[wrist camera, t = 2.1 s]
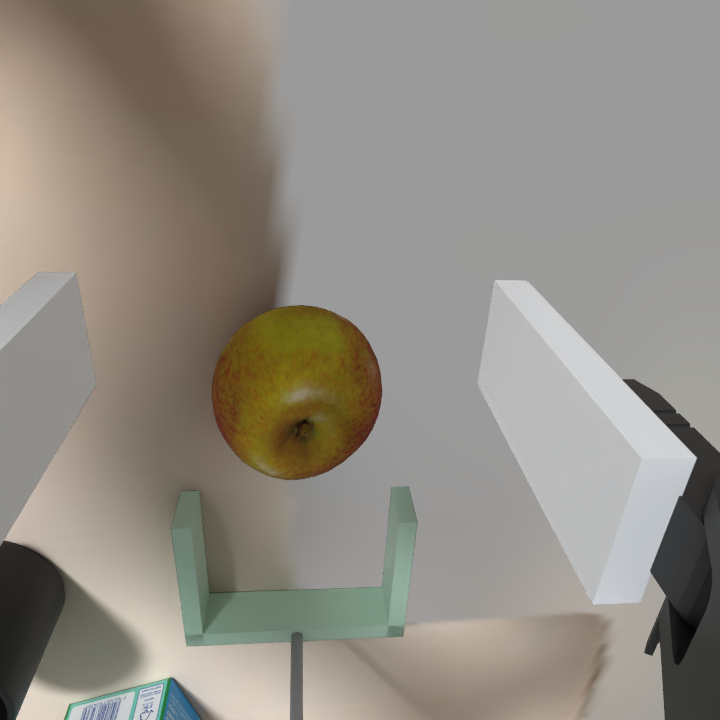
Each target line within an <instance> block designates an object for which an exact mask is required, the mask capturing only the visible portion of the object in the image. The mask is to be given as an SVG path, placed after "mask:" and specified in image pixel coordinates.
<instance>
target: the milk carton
mask: <svg viewBox="0 0 720 720" xmlns="http://www.w3.org/2000/svg"><path fill="white" fill-rule="evenodd" d="M64 720H201V718H200V717H199V716H198V714H197V713H196V711H195V710H194V709H193V707H192V706H191V704H190V703H189V702H188V700H187V699H186V697H185V696H184V695H183V693H182V692H181V690H180V689H179V687H178V686H177V685H176V683H175V682H174V680H173V679H172V678H169V679H165V680H161V681H157V682H153V683H150V684H146V685H142V686H138V687H134V688H131V689H127V690H123V691H119V692H115V693H112V694H108V695H104V696H100V697H96V698H92V699H89V700H85V701H81V702H77V703H73V704H70V705H69V707H68V710H67V713H66V716H65V718H64Z"/></svg>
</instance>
